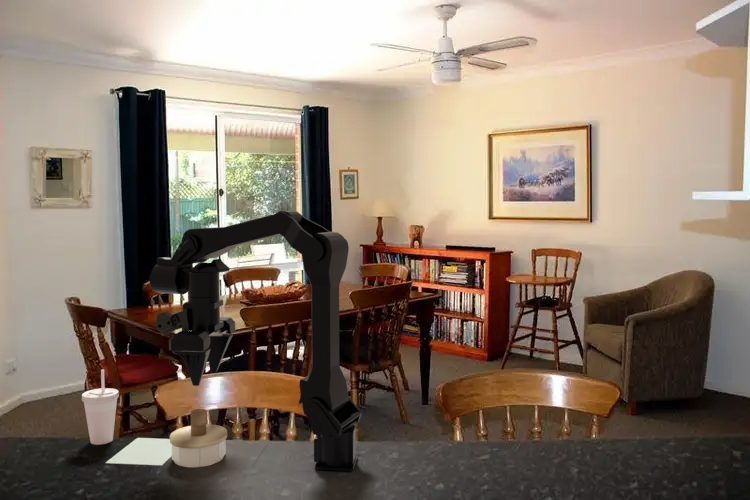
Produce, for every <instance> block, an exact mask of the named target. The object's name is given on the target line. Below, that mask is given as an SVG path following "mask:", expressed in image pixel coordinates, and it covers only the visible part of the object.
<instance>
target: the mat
mask: <svg viewBox="0 0 750 500" xmlns="http://www.w3.org/2000/svg"><path fill="white" fill-rule="evenodd" d="M171 458H172V444H171V443H170V438H152V437H137V438H135V439H134V440H133V441H132V442H130V443H129V444H128V445H126V446H125V447H124V448H122V449H121V450H120V451H119V452H117V453H116V454H114V455H113V456H112V457H111V458H110V459H108V460H107V461H106V462H105V464H112V465H113V464H114V465H116V464H117V465H118V464H119V465H135V466H136V465H141V466H161V467H162V466H163V465H164V464H165V463H166V462H168V460H170V459H171Z"/></svg>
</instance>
